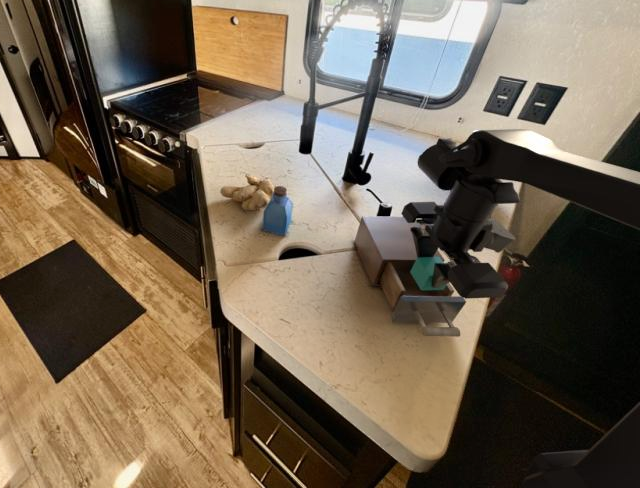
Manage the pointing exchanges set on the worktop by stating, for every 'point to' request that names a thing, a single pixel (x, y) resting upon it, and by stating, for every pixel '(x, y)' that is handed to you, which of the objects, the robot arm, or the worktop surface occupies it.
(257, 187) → the ginger root
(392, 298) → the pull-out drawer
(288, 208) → the perfume bottle
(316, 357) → the worktop surface
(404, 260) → the drawer cabinet
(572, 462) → the robot arm
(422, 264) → the teal block
